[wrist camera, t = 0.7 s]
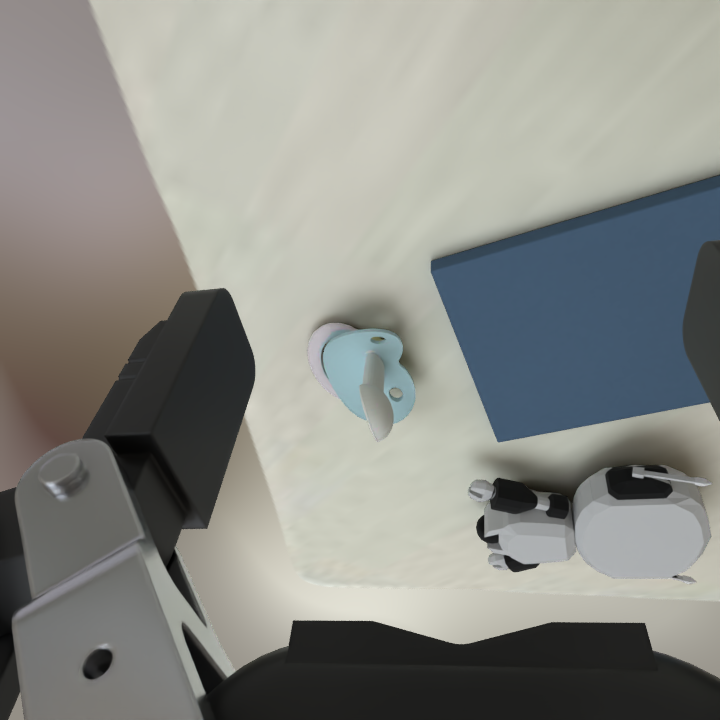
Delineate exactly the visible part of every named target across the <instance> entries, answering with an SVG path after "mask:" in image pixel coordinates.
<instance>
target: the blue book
mask: <svg viewBox="0 0 720 720" xmlns="http://www.w3.org/2000/svg"><path fill="white" fill-rule="evenodd" d="M715 240H720V175H719V176H715V177H712V178H708V179H705V180H702V181H698V182H695V183H692V184H688V185H685V186H682V187H678V188H675V189H672V190H668V191H665V192H661V193H658V194H655V195H651V196H648V197H645V198H641V199H638V200H635V201H631V202H628V203H624V204H621V205H618V206H614V207H611V208H608V209H604V210H601V211H598V212H594V213H591V214H588V215H584V216H581V217H577V218H574V219H571V220H567V221H564V222H561V223H557V224H554V225H551V226H547V227H544V228H541V229H537V230H534V231H530V232H527V233H524V234H520V235H517V236H514V237H510V238H507V239H504V240H500V241H497V242H493V243H490V244H487V245H483V246H480V247H477V248H473V249H470V250H467V251H463V252H460V253H457V254H453V255H450V256H446V257H443V258H440V259H436V260H433V261H431V273H432V276H433V278H434V281H435V284H436V286H437V289H438V291H439V294H440V296H441V299H442V301H443V304H444V306H445V309H446V312H447V314H448V317H449V319H450V322H451V324H452V327H453V329H454V332H455V334H456V337H457V340H458V342H459V345H460V347H461V350H462V352H463V355H464V357H465V360H466V362H467V365H468V368H469V370H470V373H471V375H472V378H473V380H474V383H475V385H476V388H477V390H478V393H479V396H480V398H481V401H482V403H483V406H484V408H485V411H486V413H487V416H488V418H489V421H490V424H491V426H492V429H493V431H494V434H495V436H496V439H497V441H498V442H503V441H509V440H514V439H519V438H524V437H530V436H535V435H540V434H546V433H551V432H556V431H561V430H567V429H572V428H577V427H582V426H588V425H593V424H598V423H603V422H609V421H614V420H619V419H624V418H630V417H635V416H640V415H646V414H651V413H656V412H661V411H667V410H672V409H677V408H682V407H688V406H693V405H698V404H703V403H709V402H710V401H709V399H708V397H707V395H706V393H705V391H704V389H703V387H702V385H701V383H700V381H699V379H698V377H697V375H696V373H695V371H694V369H693V367H692V365H691V363H690V361H689V359H688V357H687V355H686V352H685V348H684V343H683V333H682V329H683V319H684V314H685V310H686V305H687V301H688V296H689V292H690V287H691V283H692V278H693V274H694V269H695V265H696V261H697V256H698V253H699V250H700V248H701V246H702V245H703V244H704V243H705V242H707V241H715Z"/></svg>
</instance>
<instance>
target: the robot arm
mask: <svg viewBox="0 0 720 720" xmlns="http://www.w3.org/2000/svg"><path fill="white" fill-rule="evenodd" d="M682 333H683V343H684V348H685V352H686V355H687V357H688V359H689V361H690V363H691V365H692V367H693V369H694V371H695V373H696V375H697V377H698V379H699V381H700V383H701V385H702V387H703V389H704V391H705V393H706V395H707V397H708V399H709V401H710V403H711V405H712V407H713V409H714V411H715V413H716V415H717V417H718V419H719V421H720V240H715V241H707V242H705V243H704V244H703V245H702V246H701V248H700V250H699V253H698V256H697V261H696V265H695V269H694V274H693V278H692V283H691V287H690V292H689V296H688V301H687V305H686V310H685V314H684V319H683V329H682ZM128 361H129V363H128V364H125V366H124V368H123V369H122V371H121V373H120V374H119V376H118V377H119V380H118V381H115V383H114V385H113V387H112V388H111V390H110V392H109V393H108V395H107V397H106V398H105V400H104V402H103V404H102V405H101V407H100V409H99V411H98V412H97V414H96V416H95V417H94V419H93V421H92V422H91V424H90V426H89V428H88V429H87V431H86V433H85V434H84V436H83V438H82V439H79V440H74V441H71V442H68V443H65V444H62V445H60V446H58V447H56V448H54V449H52V450H50V451H49V452H47V453H46V454H44V455H43V456H42V457H40V458H39V459H38V460H37V461H35V462H34V463H33V464H32V465H31V466H30V467H29V468H28V469H27V471H26V472H25V473H24V475H23V476H22V478H21V479H20V481H19V483H18V485H17V487H15V488H12V489H9V490H6V491H2V492H0V720H8V719H9V716H10V714H11V712H12V709H13V707H14V705H15V702H16V700H17V698H18V695H19V693H20V692H21V699H22V706H23V714H24V720H720V679H719V678H718V677H716V676H714V675H712V674H710V673H708V672H706V671H704V670H702V669H700V668H698V667H696V666H694V665H692V664H690V663H687V662H685V661H682V660H679V659H677V658H674V657H672V656H669V655H666V654H663V653H659V652H656V651H653V650H652V647H651V643H650V640H649V636H648V632H647V629H646V625H645V623H570V622H568V623H565V622H562V623H561V622H551V623H547V624H543V625H540V626H536V627H532V628H528V629H524V630H520V631H516V632H512V633H509V634H505V635H501V636H497V637H493V638H489V639H485V640H481V641H478V642H474V643H470V644H453V643H449V642H445V641H442V640H438V639H435V638H431V637H427V636H424V635H420V634H417V633H413V632H410V631H406V630H403V629H399V628H395V627H392V626H388V625H385V624H381V623H378V622H374V621H293V624H292V630H291V636H290V642H289V646H287V647H284V648H280V649H278V650H275V651H273V652H270V653H268V654H265V655H263V656H261V657H259V658H257V659H255V660H254V661H252V662H250V663H248V664H247V665H245V666H243V667H242V668H240V669H239V670H237V671H235V669H234V667H233V665H232V664H231V662H230V660H229V658H228V657H227V655H226V653H225V651H224V650H223V648H222V646H221V644H220V642H219V640H218V638H217V636H216V633H215V631H214V629H213V627H212V624H211V622H210V620H209V617H208V615H207V613H206V611H205V608H204V606H203V604H202V601H201V599H200V597H199V595H198V592H197V590H196V588H195V585H194V583H193V581H192V578H191V576H190V574H189V571H188V569H187V567H186V565H185V562H184V560H183V558H182V555H181V553H180V552H179V550H178V549H177V547H176V543H177V540H178V537H179V535H180V532H181V529H207V527H208V524H209V521H210V518H211V515H212V512H213V509H214V506H215V503H216V500H217V497H218V493H219V490H220V487H221V484H222V481H223V478H224V475H225V472H226V469H227V466H228V462H229V459H230V457H231V453H232V450H233V447H234V444H235V441H236V438H237V435H238V432H239V429H240V426H241V423H242V420H243V416H244V413H245V410H246V407H247V404H248V401H249V398H250V395H251V392H252V389H253V386H254V381H255V361H254V356H253V352H252V349H251V347H250V344H249V341H248V339H247V336H246V333H245V331H244V328H243V325H242V323H241V320H240V317H239V315H238V312H237V309H236V307H235V304H234V302H233V299H232V297H231V295H230V293H229V292H228V291H227V290H226V289H224V288H220V289H210V290H200V291H190V292H184V293H183V294H182V295H181V296H180V298H179V300H178V301H177V303H176V305H175V307H174V309H173V311H172V312H171V314H170V316H169V318H168V320H166V321H160V322H159V323H158V324H157V325H155V326H154V327H153V328H152V329H151V330H150V331H149V332H148V333H147V334H145V335H144V336H143V337H142V338H141V339H140V340H139V342H138V344H137V345H136V347H135V349H134V351H133V352H132V354H131V356H130V357H129V359H128Z"/></svg>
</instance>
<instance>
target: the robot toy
mask: <svg viewBox="0 0 720 720" xmlns="http://www.w3.org/2000/svg"><path fill="white" fill-rule="evenodd" d="M710 484H712V483H711V482H710V481H708V480H707V479H705V478H700V477H695V478H692V477H689V476H687V475H686V474H685V473H683V472H681V471H678V470H676V469H673V468H671V467H668V466H666V465H646V466H643V465H630V466H626V467H611V468H603V469H602V470H600V471H598V472H597V473H595V474H593V475H592V476H590V477H589V478H588V479H586V480H585V481H584V482H583V483H582V484H581V485H580V486H579V487H578V489H577V491H576V493H575V495H574V498H573V502H572V508H571V504H570V501H569V500H568V498H567V496H563V495H561V494H559V493H549V492H535V490H530V489H529V488H528V487H526V486H525V485H524V484H523V483H520V482H515V481H510V480H506V479H501V478H497V479H496V480H495V481H494V483H493V485H492V484H491V483H489V482H488V481H486V480H475V481H473V482H472V483H471V487H469V489H468V495H469V496H470V498H471V499H474V500H476V501H479V502H481V501H487V500H490V503H488V504H487V506H486V508H485V509H484V515H483V516H482V517H481V518H480V519H479V520H478V522H477V526H476V529H477V534H478V536H479V537H480V538H481V540H483V541H485V542H487V548H488V549H490V550H491V551H492V552H493V553H492V554H490V555H489V558H488V562H489V564H490V565H493V567H494V568H496V569H498V570H507V569H508V568H509V569H510V570H511V571H513V572H519V571H524V570H528V569H532V568H536V567H537V566H538V565H539V564H540V563H550V562H559V561H567V560H569V559H570V558H571V557H572V555H574V553H575V552H576V547H577V549H578V552H579V554H580V555H581V557H582V558H583V560H584V561H585V562H586V563H587V564H588V565H589V566H591V567H592V568H594V569H595V570H596V571H598V572H600V573H603V574H605V575H607V576H609V577H611V578H630V579H668V578H670V579H674V580H679V581H683V582H684V583H688V584H692V583H695V582H696V581H695V580H694V579H693V578H691V577H688V576H679V575H678V574H680V573H682V572H685V571H686V570H687V569H688V568H689V567H690V566H692V565H693V564H694V563H695V562H696V561H697V560H698V558H699V557H700V556H701V554H702V553H703V552H704V550H705V548H706V546H707V544H708V542H709V540H710V538H711V532H710V526H709V520H708V516H707V513H706V510H705V506H704V503H703V500H702V497H701V494H700V491H699V489H698V487H697V485H698V486H707V485H710ZM575 545H576V547H575Z"/></svg>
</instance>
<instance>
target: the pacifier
mask: <svg viewBox="0 0 720 720" xmlns="http://www.w3.org/2000/svg"><path fill="white" fill-rule="evenodd" d="M380 337H383V338H385V339H384V340H383V339H381V338H380ZM329 340H330V341H329ZM328 341H329V342H328ZM327 342H328V343H327ZM325 343H327V345H326V347H325V349H324V352H323V355H322V348H323V347H324V345H325ZM307 351H308V361H309V364H310V367H311V370H312V372H313V374H314V376H315V377H316V379H317V381H318V382H319V383H320V384H321V385H322V387H323V388H324V389H325V390H327V391H328V392H329V393H330V394H332V395H333V396H335V397H337V398H339V399H341V401H342V402H343V403H344V404H345V406H346V407H348V409H349V410H350V411H351V412H353V413H354V414H355V415H357V416H358V417H360V418H362V419H364V420H367V422H368V425H369V428H370V430H371V432H372V435H373V437H374V438H375V440H376V441H377V442H378V441H381V440H383V439H384V438H386V437H387V436H388V434H389V433H390V431H391V429H392V426H393V424H394V423H397V422H399V421H401V420H403V419H404V418H405V417H406V416H407V415H408V414H409V413H410V411H411V410H412V408H413V405H414V402H415V387H414V383H413V379H412V377H411V375H410V374H409V372H408V371H407V370H406V368H405V367H404V366H403V365H401V364H400V363H399V359H400V357H401V355H402V352H403V345H402V341H401V339H400V337H399V336H398V335H397V334H396V333H394V332H392V331H389V330H385V329H375V328H371V329H361V330H357V329H355V328H353V327H352V326H350V325H346V324H342V323H328V324H325V325H322V326H320V327H319V328H318V329H317V330H316V331H315V332H314V333H313V334H312V336H311V338H310V340H309V344H308V349H307ZM394 387H396V388H399V389H400V390H401V391H402V393H403V395H402V396H401V397H400V398H395V397H393V396H391V394H390V392H389V390H390V389H391V388H394Z"/></svg>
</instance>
